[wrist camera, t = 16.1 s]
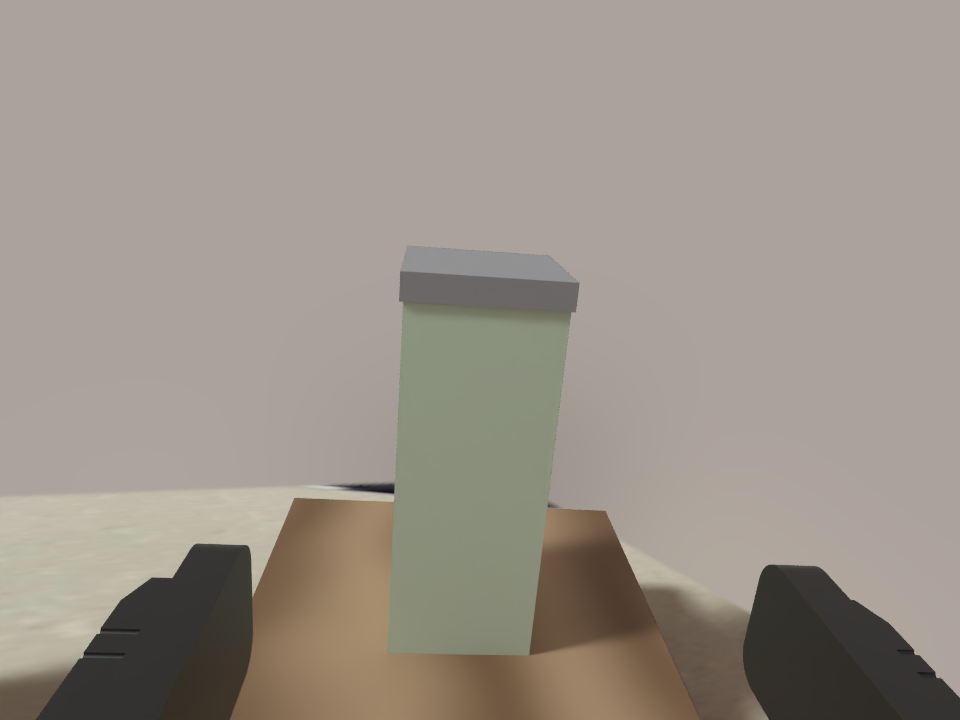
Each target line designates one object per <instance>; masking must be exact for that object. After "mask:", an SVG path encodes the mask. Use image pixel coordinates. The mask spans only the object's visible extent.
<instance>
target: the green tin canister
mask: <svg viewBox="0 0 960 720" xmlns="http://www.w3.org/2000/svg"><path fill="white" fill-rule="evenodd" d="M578 291H579V282H578V281H577V280H576V279H575V278H573V276H571V275H570V274H569V273H568V272H567V271H566V270H565V269H564V268H563V267H562V266H560V265H559V264H558V263H557V262H556V261H555V260H554V259H553V258H552V257H551V256H548V255H533V254H519V253H504V252H490V251H475V250H461V249H447V248H432V247H418V246H407V248H406V252H405V256H404V260H403V263H402V267H401V272H400V294H399V295H400V296H399V301H401V302H403V315H402V338H401V339H402V340H401V360H400V382H399V404H398V428H397V448H396V470H395V471H396V472H395V493H394V515H393V537H392V559H391V581H390V603H389V625H388V648H387V653H400V654H465V655H529V652H530V644H531V636H532V628H533V619H534V611H535V603H536V595H537V587H538V579H539V571H540V562H541V554H542V546H543V538H544V530H545V522H546V514H547V506H548V497H549V489H550V480H551V473H552V464H553V456H554V448H555V440H556V432H557V424H558V416H559V408H560V399H561V392H562V384H563V375H564V367H565V359H566V351H567V343H568V335H569V327H570V326H569V325H570V319H571V312H576V306H577V298H578Z"/></svg>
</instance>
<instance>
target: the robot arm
mask: <svg viewBox="0 0 960 720" xmlns="http://www.w3.org/2000/svg"><path fill="white" fill-rule="evenodd" d="M252 642H253V609H252V574H251V554H250V549H249V547H248V546H247V545H221V544H195V545H194V546H193V547H192V548H191V549H190V551H189V553H188V554H187V556H186V557H185V559H184V561H183V562H182V564H181V565H180V567H179V569H178V570H177V572H176V573H175V575H174V577H173V578H151V579H149V580H148V581H147V582H145V583H144V584H143V585H141V586H140V587H138V588H137V589H136V590H134V591H133V592H132V593H130V594H129V595H127V596H126V597H125V598H123V599H122V600H121V601H120V602H119V603H118V605H117V606H116V608H115V609H114V610H113V612H112V613H111V615H110V616H109V618H108V619H107V620H106V622H105V623H104V625H103V626H102V627H101V631H100V634H96V636H95V637H94V639H93V640H92V642H91V643H90V644H89V646H88V647H87V649H86V650H85V651H84V656H83V658H82V659H79V660H78V661H77V663H76V664H75V665H74V667H73V668H72V670H71V671H70V673H69V674H68V675H67V677H66V678H65V680H64V681H63V682H62V684H61V685H60V687H59V688H58V689H57V691H56V692H55V694H54V695H53V697H52V698H51V699H50V701H49V702H48V704H47V705H46V706H45V708H44V709H43V711H42V712H41V713H40V715H39V716H38V718H37V719H36V720H230V718H231V715H232V712H233V710H234V707H235V704H236V702H237V699H238V696H239V693H240V691H241V688H242V685H243V683H244V680H245V677H246V674H247V670H248V666H249V662H250V657H251V651H252ZM743 662H744V669H745V673H746V677H747V680H748V683H749V685H750V687H751V689H752V691H753V693H754V694H755V696H756V698H757V700H758V701H759V703H760V705H761V707H762V708H763V710H764V712H765V713H766V715H767V717H768V719H769V720H960V698H959V697H958V696H957V695H956V693H955V692H953V690H952V689H951V688H950V687H949V686H948V685H947V684H946V683H945V682H944V681H943V680H942V679H941V678H936V675H935V671H934V670H933V669H932V668H931V667H930V666H929V665H928V664H927V663H926V662H925V661H924V660H923V659H922V658H921V657H920V656H919V655H915V654H914V649H913V648H912V647H911V646H910V645H909V644H908V643H907V642H906V641H905V640H904V639H903V638H902V637H901V636H900V635H899V633H898V632H897V631H895V629H894V628H893V627H892V626H891V625H890V624H889V623H888V622H886V621H885V620H883V619H882V618H880V617H879V616H877V615H876V614H874V613H873V612H871V611H870V610H868V609H867V608H865V607H864V606H862V605H861V604H859V603H858V602H856V601H855V600H850V599H849V598H848V597H847V595H846V594H845V593H844V592H843V591H842V590H841V589H840V588H839V587H838V586H837V584H836V583H835V582H834V581H833V580H832V579H831V578H830V577H829V576H828V575H827V574H826V572H824V571H823V570H822V569H821V568H819V567H816V566H795V565H794V566H793V565H768V566H766V567H765V568H764V569H763V571H762V573H761V575H760V578H759V583H758V587H757V591H756V595H755V599H754V603H753V608H752V612H751V616H750V620H749V624H748V628H747V633H746V637H745V641H744V647H743Z"/></svg>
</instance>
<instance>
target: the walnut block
mask: <svg viewBox="0 0 960 720" xmlns="http://www.w3.org/2000/svg"><path fill="white" fill-rule="evenodd" d="M393 515H394V502H378V501H353V500H329V499H305V498H294V501H293V503H292V506H291V508H290V510H289V513H288V515H287V517H286V520H285V522H284V525H283V527H282V529H281V532H280V534H279V536H278V539H277V541H276V544H275V546H274V548H273V551H272V553H271V555H270V558H269V560H268V563H267V565H266V567H265V570H264V572H263V574H262V577H261V579H260V582H259V584H258V586H257V589H256V591H255V593H254V596H253V598H252V609H253V642H252V651H251V657H250V662H249V666H248V670H247V674H246V677H245V680H244V683H243V685H242V688H241V691H240V693H239V696H238V699H237V702H236V704H235V707H234V710H233V712H232V715H231V718H230V720H700V718H699V716H698V714H697V712H696V709H695V707H694V705H693V703H692V701H691V698H690V696H689V694H688V692H687V690H686V687H685V685H684V683H683V681H682V679H681V676H680V674H679V672H678V670H677V668H676V665H675V663H674V661H673V659H672V657H671V654H670V652H669V650H668V648H667V646H666V643H665V641H664V639H663V637H662V635H661V632H660V630H659V628H658V626H657V624H656V621H655V619H654V617H653V615H652V613H651V610H650V608H649V606H648V604H647V602H646V599H645V597H644V595H643V593H642V591H641V588H640V586H639V584H638V582H637V580H636V577H635V575H634V573H633V571H632V569H631V566H630V564H629V562H628V560H627V558H626V555H625V553H624V551H623V549H622V547H621V544H620V542H619V540H618V538H617V536H616V533H615V531H614V529H613V527H612V525H611V522H610V520H609V518H608V516H607V514H606V511H594V510H570V509H547V514H546V522H545V530H544V538H543V546H542V554H541V562H540V571H539V579H538V587H537V595H536V603H535V611H534V619H533V628H532V636H531V644H530V652H529V655H465V654H400V653H387V648H388V625H389V603H390V581H391V559H392V537H393Z"/></svg>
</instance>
